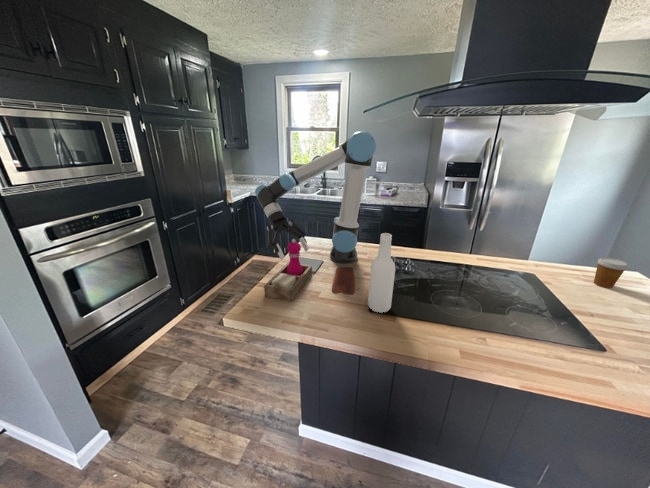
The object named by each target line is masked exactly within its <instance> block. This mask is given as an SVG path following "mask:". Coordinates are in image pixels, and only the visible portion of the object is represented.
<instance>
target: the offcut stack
mask: <svg viewBox="0 0 650 488" xmlns="http://www.w3.org/2000/svg"><path fill="white" fill-rule="evenodd" d="M295 283H296V276H291V275H286V274H280V275H279V276H277V277H276V278H275V279H274V280H273V281H272V286H278V287H284V288H290V289H291V288H292V286H293V285H294V284H295Z"/></svg>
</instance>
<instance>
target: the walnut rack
mask: <svg viewBox="0 0 650 488" xmlns="http://www.w3.org/2000/svg"><path fill="white" fill-rule="evenodd" d="M289 262H290V261H288V262H287V263H286V264H285V265H284V266H283V267H282V268H281V269H280V270H278V271H277V272H276V273H275V274H274V275H273V276H272V277H271V278H270V279H269V280H268V281H267V282H266V283H265V284H264V285H263V289H264V297H267V298H272V299H279V300H283V301H288V302H294V300H295V298H297V296H298V295H299V293H300V292H301V291H302V289H303V288H304V287H305V286H306V284H307V282H308V281H309V280H310V278H311V277H312V276H313V273H312V266H310V265H303V264H301V266H302V269H303V272H302V274H301V276H297V275H291V274H288V273H287V268H288V265H289ZM280 274H286V275H291V276H296V283H295V284H294V285H293V286H292V288H291V289H290V288H284V287H278V286H272V281H273V280H274V279H275V278H276V277H277V276H279V275H280Z"/></svg>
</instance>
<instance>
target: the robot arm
mask: <svg viewBox="0 0 650 488" xmlns="http://www.w3.org/2000/svg"><path fill="white" fill-rule="evenodd" d="M376 148H377V143H376V139H375V138H374V136H373V134H371V133H370V132H368V131H364V130H362V131H361V130H360V131H355V132H354V133H352V134H351V135H350V136H349V138H348V139H346V140H345V141H343V142H341V143H339V146H338V147H336V148H334V149H332V150H330V151H328V152H327V153H325V154H322V155H321V156H319V157H317V158H315V159H312V160H311V161H309V162H307V163H305V164H303V165H301V166H299V167H297V168H295V169H293V170H291V171H289V172H285V173H283V174H282V175H280V176H279V177H278V178H276V179H275V180H274V181H273V182H271V184H268V183H262V184H260V185H258V186H257V187H256V188H255V189H254V190H255V191H254V194H255V196H256V198H257V201H258V203H259V204H260V206H261V208H262V210H263V212H264V214H265V216H266V217H267V218H266V219H267V220H268V221H269V222H268V223H269V224H268V225H267V226H266V228H265V229H266V232H267V236H266V237H267V239H266V240H267V245H266V246H267V247H268V248H269V247H270V248H272V249H273V250H274V252H275V254H277V255H278V257H279V259H280V260H284V258H285V257H286V256H285V255H284V253H283V250H282V248H281V247H280V245H279V243H277V242H278V238H279V235H280V234H282V233H289V234H290V235H293V236H294V237H297V238H298V239H299V243H300V245H301V246H302V248H303V250H304V252H308V251H309V250H310V248H309V246H308V244H307V242H308V241H307V239H306V238H305V236H307V232H306V231H305V230H303V229H302V228H301V227H300V226H299V225H298V224H296V222H295V221H294V220H293V219H291V220H289V221H288V220H287V217H286V215H285V213H284V212H283V210H282V208H281V206H280V204H279V202H278V201H277V200H279V199H280V198H281V197H283V196H284V195H285V194H288V192H290V191H292V190H293V189H294V188H296V187H298V186H300V185H301V184H303V183H305V182H307V181H309V180H311V179H315V177H318V176H320V175H322V174H323V173H326V172H327V171H330V170H332V169H334V168H336V167H338V166H341V165H342V164H345V165H346V168H347V169H346V173H345V179H344V186H343V190H342V197H341V203H340V209H339V216H336V217H334V218H333V232H332V238H331V243H332V247H331V250H330V253H329V258H330V260H331V261H333V262H336V263H340V264H349V263H353V262H355V261H357V259H358V253H357V248H356V247H357V244H358V234H359V228H360V224H359V223H358V216H359V211H360V205H361V201H362V195H363V190H364V184H365V179H366V174H367V170H368V169H370V168H371V167H372V166H371V165H372V164H373V163H372V162H373V158H374V155H375V152H376ZM273 230H274V231H275V232H274V236H273Z"/></svg>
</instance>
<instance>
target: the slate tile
mask: <svg viewBox="0 0 650 488" xmlns="http://www.w3.org/2000/svg"><path fill="white" fill-rule="evenodd" d="M299 262H300V264H303V265H310V266H312V274H317V273H316V272H317V271H318V270H319V269H320V267H321V266H322V265H323V263H324V259H316V258H311V257H302V256H299Z"/></svg>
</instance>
